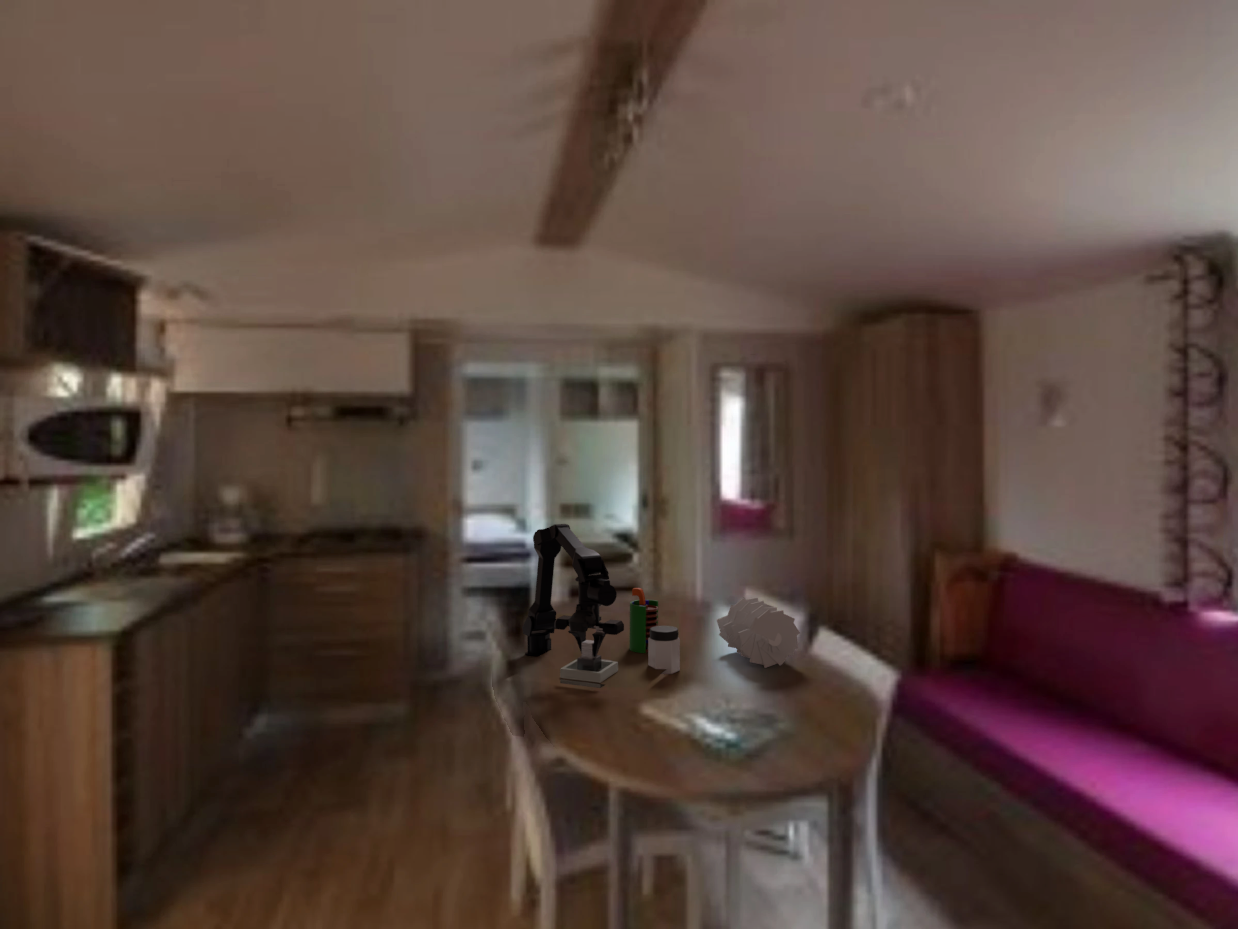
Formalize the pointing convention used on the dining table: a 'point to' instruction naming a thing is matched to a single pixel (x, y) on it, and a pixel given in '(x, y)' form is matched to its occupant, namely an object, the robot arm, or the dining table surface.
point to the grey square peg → (588, 658)
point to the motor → (641, 621)
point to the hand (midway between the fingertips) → (589, 655)
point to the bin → (587, 674)
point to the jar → (664, 649)
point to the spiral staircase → (759, 632)
